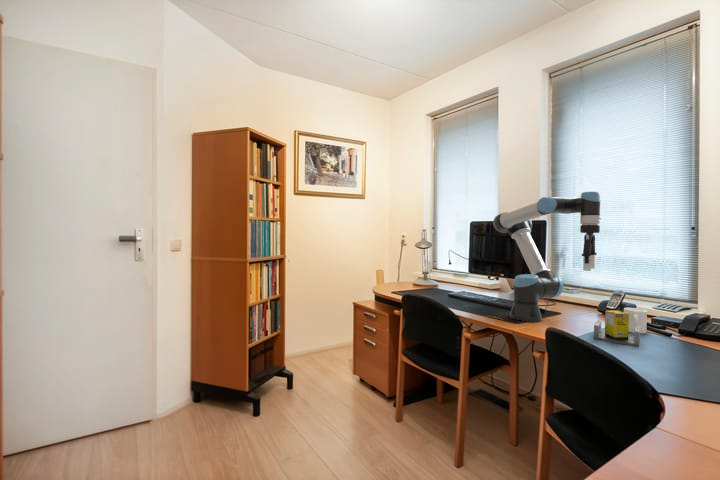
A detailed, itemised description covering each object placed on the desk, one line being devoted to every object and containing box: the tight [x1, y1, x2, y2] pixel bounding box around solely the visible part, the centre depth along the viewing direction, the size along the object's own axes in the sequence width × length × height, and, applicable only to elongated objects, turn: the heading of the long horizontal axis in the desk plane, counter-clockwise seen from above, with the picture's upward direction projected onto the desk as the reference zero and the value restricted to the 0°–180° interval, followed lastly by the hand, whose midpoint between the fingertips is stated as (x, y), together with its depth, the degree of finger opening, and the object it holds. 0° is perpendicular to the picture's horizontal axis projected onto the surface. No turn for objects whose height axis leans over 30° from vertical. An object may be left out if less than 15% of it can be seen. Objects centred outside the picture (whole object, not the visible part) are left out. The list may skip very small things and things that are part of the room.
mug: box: [623, 307, 648, 334], centre depth 154 cm, size 12×8×10 cm
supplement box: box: [604, 310, 630, 339], centre depth 144 cm, size 6×6×11 cm
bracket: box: [593, 319, 641, 348], centre depth 144 cm, size 15×12×6 cm
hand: (589, 269), depth 157 cm, fingers open, 13 cm apart
